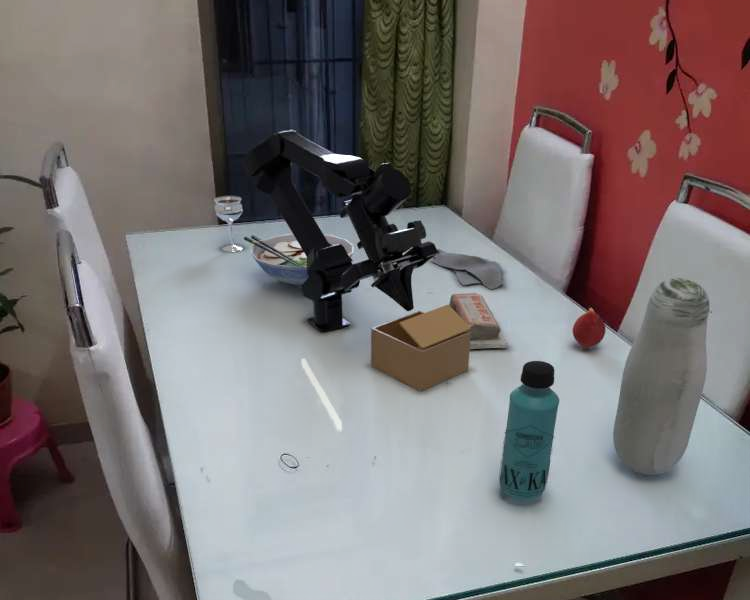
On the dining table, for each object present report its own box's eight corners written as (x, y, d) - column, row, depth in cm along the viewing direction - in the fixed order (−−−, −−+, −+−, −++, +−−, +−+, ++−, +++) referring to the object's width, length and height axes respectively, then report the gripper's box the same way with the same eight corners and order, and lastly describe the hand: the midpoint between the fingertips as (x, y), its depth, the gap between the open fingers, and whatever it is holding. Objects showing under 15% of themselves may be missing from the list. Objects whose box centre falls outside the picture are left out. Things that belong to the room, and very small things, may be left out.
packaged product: (440, 291, 158) (489, 289, 159) (439, 313, 161) (487, 312, 162) (456, 327, 143) (510, 325, 144) (455, 352, 146) (507, 349, 147)
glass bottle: (694, 479, 111) (744, 292, 96) (630, 491, 109) (672, 301, 94) (654, 443, 119) (695, 265, 104) (594, 453, 117) (627, 273, 102)
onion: (604, 345, 148) (611, 305, 144) (598, 357, 144) (605, 317, 140) (574, 339, 150) (580, 300, 146) (567, 351, 146) (572, 311, 142)
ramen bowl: (377, 287, 173) (377, 250, 169) (286, 310, 162) (284, 272, 158) (319, 255, 191) (317, 222, 186) (233, 274, 180) (230, 239, 175)
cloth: (524, 284, 174) (525, 275, 173) (468, 292, 170) (469, 282, 169) (473, 248, 195) (474, 239, 194) (422, 255, 191) (423, 245, 190)
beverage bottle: (492, 483, 110) (505, 355, 100) (539, 481, 111) (557, 353, 100) (503, 511, 105) (518, 378, 94) (551, 508, 106) (572, 376, 95)
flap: (470, 329, 135) (471, 328, 135) (422, 349, 129) (422, 347, 129) (447, 305, 137) (448, 304, 137) (398, 323, 131) (399, 322, 131)
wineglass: (219, 244, 198) (214, 196, 191) (246, 243, 198) (242, 195, 192) (218, 253, 192) (212, 203, 186) (245, 252, 193) (241, 203, 186)
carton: (468, 370, 140) (471, 332, 136) (420, 391, 133) (422, 352, 129) (418, 347, 148) (419, 310, 144) (371, 366, 141) (371, 328, 137)
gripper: (354, 217, 124) (396, 306, 124) (437, 195, 135) (475, 278, 135) (322, 248, 133) (361, 331, 134) (402, 225, 144) (438, 303, 144)
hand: (410, 310), depth 136 cm, fingers closed
